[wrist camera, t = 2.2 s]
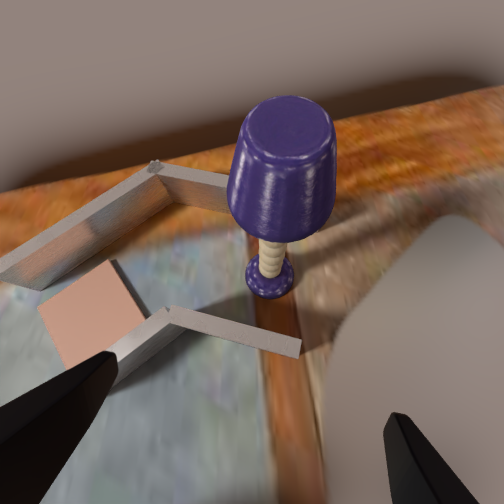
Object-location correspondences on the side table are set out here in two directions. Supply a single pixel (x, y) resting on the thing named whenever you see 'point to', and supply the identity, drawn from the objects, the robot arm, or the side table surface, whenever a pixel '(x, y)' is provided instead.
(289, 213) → the toy lamp
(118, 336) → the end pad
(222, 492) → the side table surface
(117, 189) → the bent rails
